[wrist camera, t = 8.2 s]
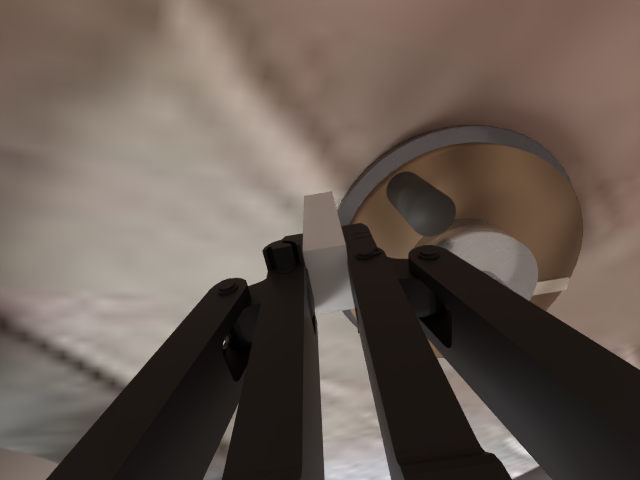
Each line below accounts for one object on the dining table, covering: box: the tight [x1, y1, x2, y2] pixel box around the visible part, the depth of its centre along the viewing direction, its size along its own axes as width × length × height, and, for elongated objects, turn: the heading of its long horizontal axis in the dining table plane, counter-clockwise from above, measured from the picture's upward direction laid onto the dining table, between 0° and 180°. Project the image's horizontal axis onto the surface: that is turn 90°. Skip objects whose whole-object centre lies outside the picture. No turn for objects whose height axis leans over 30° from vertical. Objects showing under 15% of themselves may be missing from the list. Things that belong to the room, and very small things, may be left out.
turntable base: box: [337, 125, 573, 328], centre depth 25 cm, size 20×20×1 cm
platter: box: [349, 142, 583, 358], centre depth 22 cm, size 18×18×6 cm
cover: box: [413, 218, 538, 301], centre depth 21 cm, size 8×8×5 cm
